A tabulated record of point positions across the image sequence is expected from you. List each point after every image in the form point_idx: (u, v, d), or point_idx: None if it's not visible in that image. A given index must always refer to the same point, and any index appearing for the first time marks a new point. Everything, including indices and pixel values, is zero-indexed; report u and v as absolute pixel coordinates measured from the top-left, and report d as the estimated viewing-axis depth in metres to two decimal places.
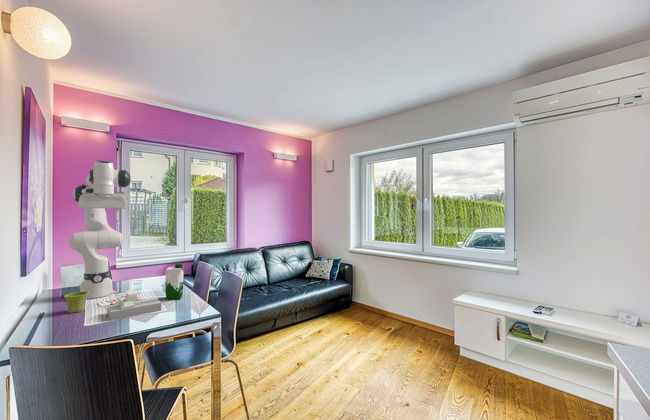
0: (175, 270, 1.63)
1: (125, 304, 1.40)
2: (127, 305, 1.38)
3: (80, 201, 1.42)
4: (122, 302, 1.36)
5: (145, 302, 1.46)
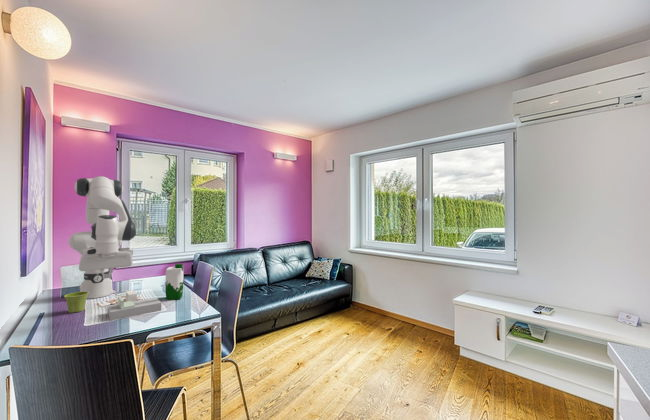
0: (175, 270, 1.63)
1: (125, 304, 1.40)
2: (127, 305, 1.38)
3: (81, 264, 1.27)
4: (122, 302, 1.36)
5: (145, 302, 1.46)
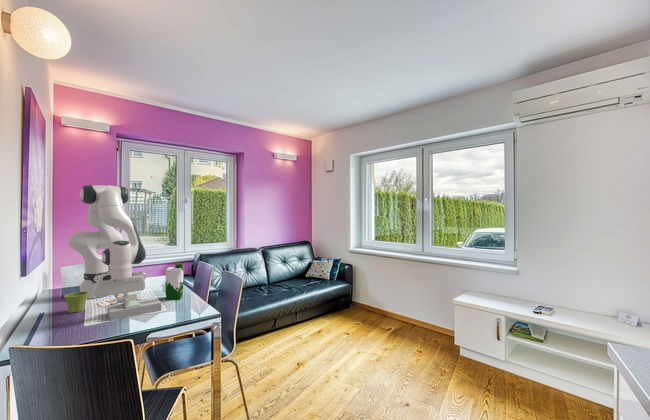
0: (175, 270, 1.63)
1: (130, 303, 1.41)
2: (132, 304, 1.39)
3: (97, 290, 1.31)
4: (127, 301, 1.37)
5: (145, 302, 1.46)
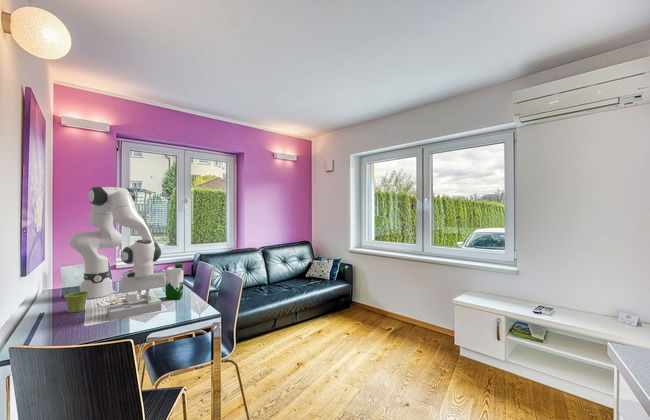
0: (175, 270, 1.63)
1: (152, 299, 1.47)
2: (154, 300, 1.46)
3: (122, 287, 1.37)
4: (149, 297, 1.44)
5: (145, 302, 1.46)
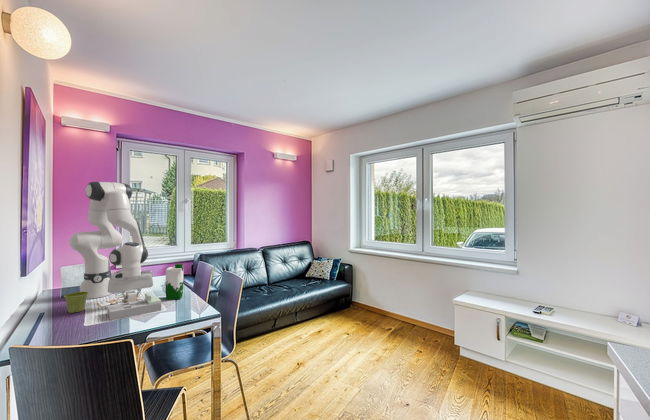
0: (175, 270, 1.63)
1: (152, 299, 1.47)
2: (154, 300, 1.46)
3: (110, 287, 1.46)
4: (149, 297, 1.44)
5: (145, 302, 1.46)
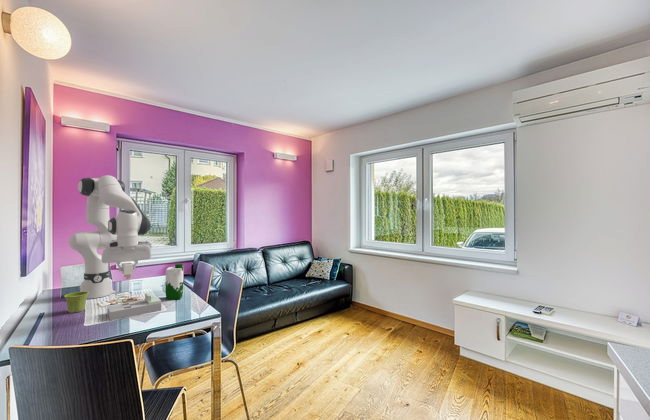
0: (175, 270, 1.63)
1: (152, 299, 1.47)
2: (154, 300, 1.46)
3: (104, 256, 1.33)
4: (149, 297, 1.44)
5: (145, 302, 1.46)
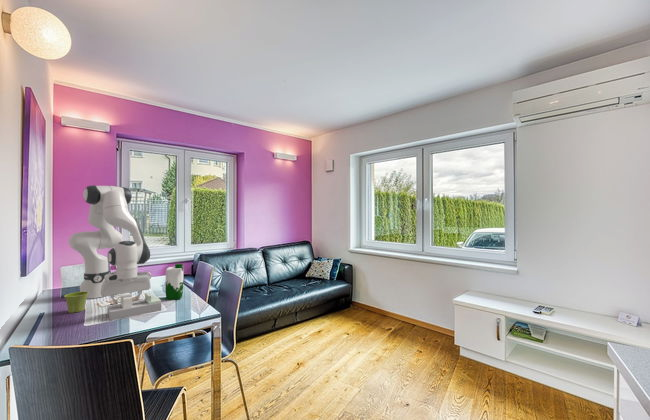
0: (175, 270, 1.63)
1: (152, 299, 1.47)
2: (154, 300, 1.46)
3: (103, 290, 1.33)
4: (149, 297, 1.44)
5: (145, 302, 1.46)
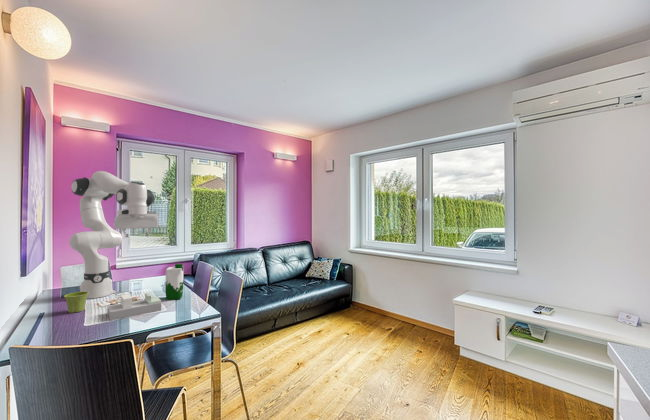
0: (175, 270, 1.63)
1: (152, 299, 1.47)
2: (154, 300, 1.46)
3: (116, 222, 1.46)
4: (149, 297, 1.44)
5: (145, 302, 1.46)
